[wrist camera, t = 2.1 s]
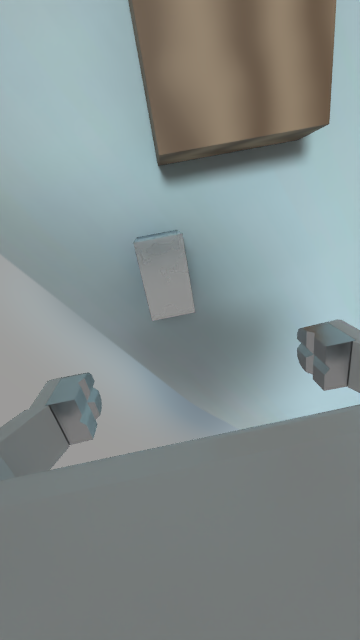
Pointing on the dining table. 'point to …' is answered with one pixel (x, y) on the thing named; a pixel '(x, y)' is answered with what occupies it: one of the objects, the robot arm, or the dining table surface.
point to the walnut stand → (233, 72)
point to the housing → (165, 274)
